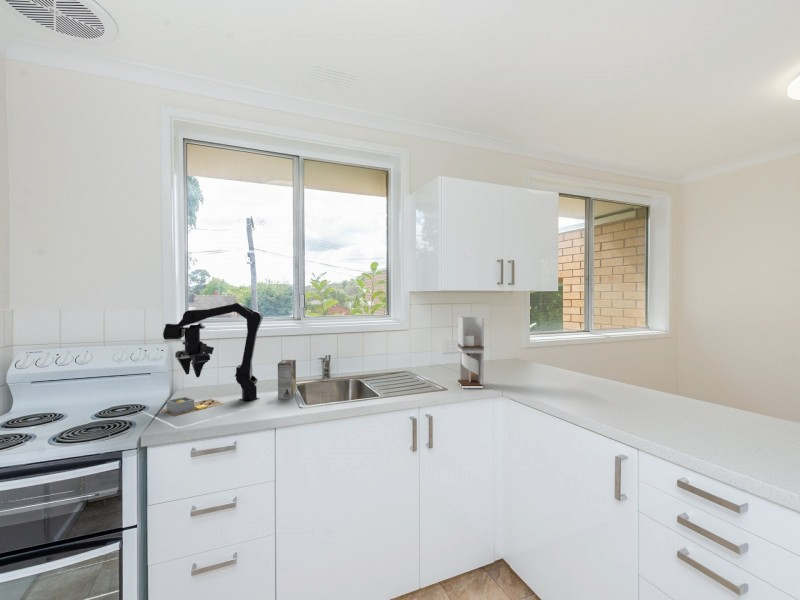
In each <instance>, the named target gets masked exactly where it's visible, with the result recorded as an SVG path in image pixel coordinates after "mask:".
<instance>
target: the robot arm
mask: <svg viewBox="0 0 800 600" xmlns="http://www.w3.org/2000/svg"><path fill="white" fill-rule="evenodd" d="M231 313H237V314H238V315H239V316H241V317H243V319H245V320H246V329H247V333H246V338H245V339H246V340H245V344H244V349H243V350H244V351H243V355H242V361H241V364H239V365H237V366H236V367H235V375H234V377H235V381H236V382H237V384H238V385H240V387H241V398H239V401H242V402H246V403H248V402H252V401H256V400H261V399H260V398H259V397H257V396H258V394H257V392H258V391H257V389H258V388H257V382H258V381H259V380H258V378H257V377H256V376H254V375H253V358H254V351H255V346H256V341H257V335H258V331H259V329H260V327H261V325H262V321H263V319H264V316H263V314H262V312H260V311H259V310H253V309H251V308H249V307H248V306H246V305H244V304H243V303H241V302H234V303H233V304H227V305H226V304H225V305H223V306H216V307H212V308H206V309H203V308H202V309H191V310H190V309H189V310H186V311H185V312H184V313H183V314H182V318H181V320H180V321H179V322H178V323H165V324H164V326H165V327H164V329H163V332H162V336H163V339H164V340H165V341H168V340H169V341H171V340H172V341H178V340H182V338H184V341H182V345H184V350H183V349H181V350H177V351H176V352H175V354H174V355H175V356H174V358H176V360H177V361H178V362H179V365H180V366H181V368H182V369H183V371H184V373H185V375H189V374H190V370H191V365H192V369H193V371H194V375H195V378H200V376H201V373H202V370H203V367H204V365H205V364H206V363H209V361H211V355H213V352H214V349H215V347H213V346H209V345H207V343H204V342H203V341H202V340H201V330H202V329H205V328H206V326H205V325H203V324H202V322H201V321H205V320H206V319H209V318H213V317H217V316H221V315H222V316H223V315H228V314H231ZM198 322H199V323H198ZM195 323H198V324H195ZM187 326H188V327H187Z"/></svg>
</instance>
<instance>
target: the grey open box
mask: <svg viewBox="0 0 800 600" xmlns="http://www.w3.org/2000/svg"><path fill="white" fill-rule="evenodd" d="M179 400H184V402H179V403H176V402H177V401H179ZM194 403H195V399H193V398H190V397H188V396H181V397H178V398H173V399H169V400H166V409H167V411H169V412H171V413H174V414H178V413H182V412H186V411H190V410H194Z"/></svg>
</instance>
